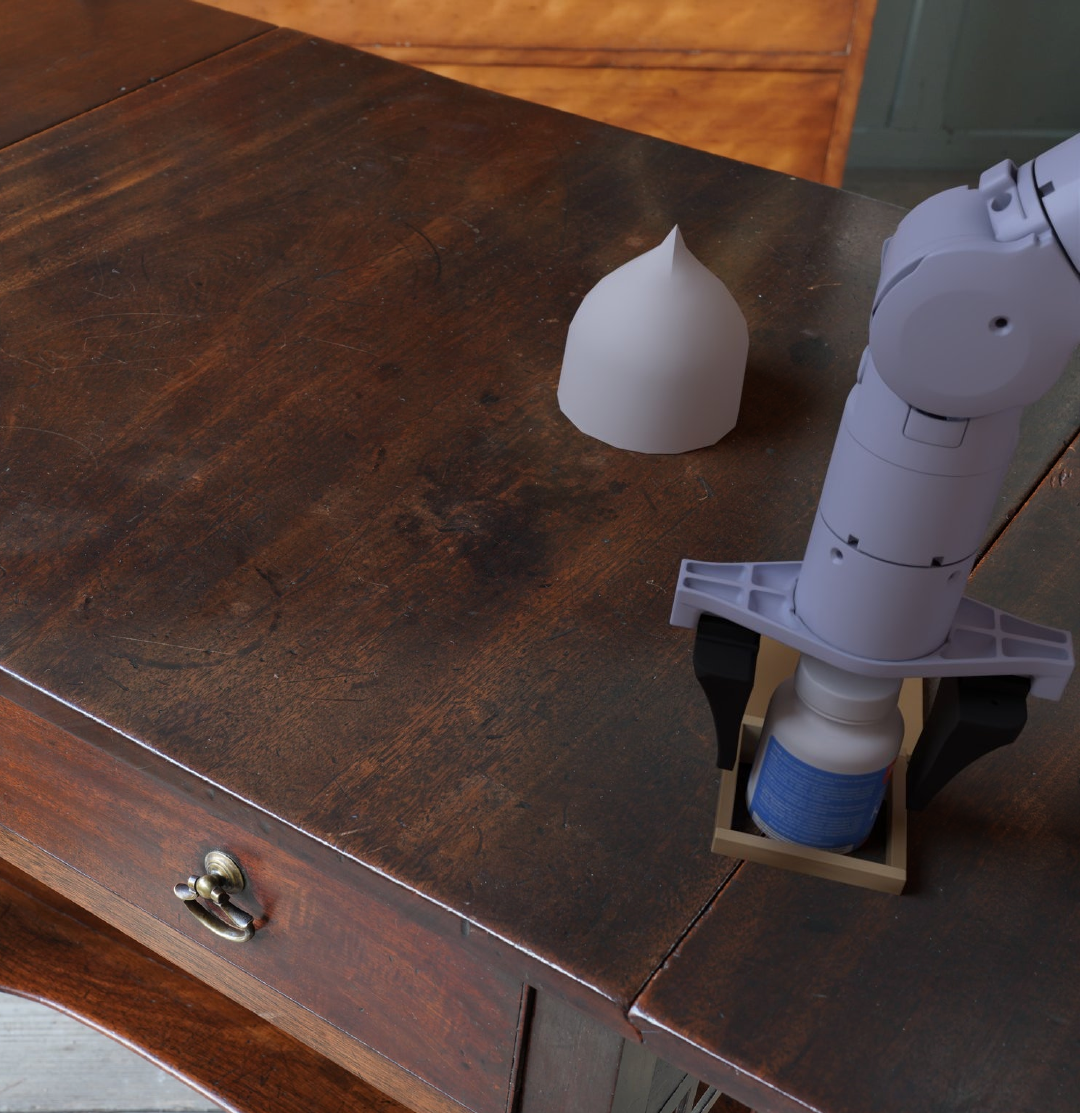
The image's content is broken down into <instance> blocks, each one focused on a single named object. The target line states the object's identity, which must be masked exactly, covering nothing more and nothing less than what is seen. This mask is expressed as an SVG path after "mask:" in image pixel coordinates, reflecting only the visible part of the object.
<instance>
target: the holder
mask: <svg viewBox="0 0 1080 1113" xmlns="http://www.w3.org/2000/svg"><path fill="white" fill-rule="evenodd" d="M763 723H764V718H759V717H754V716H750V715H745V714H744V716H743V720H742V723H741V728H740V735H739V742H738V750H737V758H736V762H735V765H734V769H733V771H729V770H724V769H721V774H720V781H719V789H718V796H717V803H716V810H715V819H714V825H713V833H712V842H711V849H710V852H711V853H713V854H717V855H722V856H725V857H729V858H734V859H739V860H744V861H748V862H752V863H756V864H761V865H764V866H770V867H773V868H777V869H782V870H787V871H790V872H794V873H795V872H796V873H799V874H803V875H809V876H813V877H818V878H821V879H826V880H831V881H833V882H838V883H843V884H848V885H852V886H856V887H860V888H864V889H868V890H873V891H876V892H881V893H886V894H890V895H895V896H901V894H902V892H903V890H904V887H905V885H906V883H907V862H908V861H907V858H908V856H907V851H908V850H907V841H908V840H907V838H908V836H907V831H908V829H907V825H908V820H907V817H908V816H907V813H908V812H907V811H908V810H907V809H906V771H907V768H908V762H907V749H906V748H903V747H901V749H900V752H899V755H898V758H897V761H896V763H895V766H894V769H893V772H892V774H891V777H890V780H889V783H888V786H887V789H886V791H885V795H884V798H883V800H882V801H886V824H885V826H886V828H885V829H886V830H885V832H886V833H885V864H884V863H878V862H874V861H870V860H865V859H862V858H856V857H852V856H847V855H845V854H842V855H839V854H835V853H830V852H826V851H822V850H817V849H813V848H808V847H804V846H799V845H795V844H791V843H786V842H782V841H777V840H773V839H771V838H769V837H763V836H759V835H755V834H751V833H746V832H741V831H737V830H733V829H732V822H733V815H734V808H735V807H734V806H735V799H736V790H737V782H738V775H739V767H740V766H739V765H740V763H743V764H748V765H751V766H752V765H753V762H754V758H755V754H756V750H757V746H758V742H759V739H760V735H761V731H762V727H763Z"/></svg>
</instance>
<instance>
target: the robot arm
mask: <svg viewBox="0 0 1080 1113" xmlns="http://www.w3.org/2000/svg"><path fill="white" fill-rule="evenodd" d="M880 257H881V258H880V260H881V261H880V275H879V280H878V283H877V288H876V292H875V296H874V300H873V304H872V307H871V308H872V309H871V312H870V313H871V314H870V317H869V325H868V328H869V329H868V330H869V332H868V334H869V335H868V336H869V338H868V339H869V340H868V341H869V343H868V344H867V345H866V347H865V348H864V350H863V352H862V355H861V358H860V361H859V365H858V370H857V373H856V378H857V381H856V382H855V384H854V386H853V387H852V388H851V391H850V392H849V394H848V395H847V398H846V401H845V405H844V409H843V412H842V415H841V420H840V425H839V427H838V431H837V435H836V437H835V442H834V446H833V450H832V453H831V457H830V460H829V464H828V467H827V473H826V475H825V479H824V482H823V485H822V490H821V494H820V498H819V502H818V505H817V509H816V513H815V517H814V521H813V523H812V527H811V532H810V535H809V539H808V543H807V546H806V549H805V552H804V556H803V560H789V561H787V560H786V561H785V560H784V561H756V562H755V561H754V562H752V561H751V562H712V561H702V560H695V559H688V558H682V559H681V564H680V568H679V572H678V579H677V584H676V588H675V592H674V599H673V603H672V608H671V614H670V619H669V624H670V625H671V626H675V627H681V628H686V629H696V634H695V639H694V646H693V651H692V665H693V670H694V676H695V678H696V680H697V681H698V683H699V685H700V686H701V689H702V691H703V693H704V695H705V697H706V700H707V702H708V705H709V708H710V711H711V714H712V719H713V722H714V728H715V734H716V742H717V743H716V744H717V755H716V756H717V757H716V763H715V766H716V768H717V769H718V770H719V769H720V770H722V769H724V770H729V771H733V769H734V765H735V762H736V758H737V750H738V742H739V735H740V728H741V723H742V720H743V716H744V713H745V710H746V707H747V704H748V701H749V698H750V695H751V692H752V689H753V687H754V681H755V672H756V664H757V656H758V652H759V649H760V639H761V634H762V635H764V636H767V637H769V638H771V639H773V640H776V641H778V642H780V643H782V644H785V645H787V646H789V647H791V648H794V649H796V650H798V651H801V652H803V653H805V654H807V655H810V656H812V657H814V658H816V659H819V660H821V661H823V662H826V663H828V664H830V665H832V666H835V667H837V668H840V669H842V670H845V671H847V672H851V673H854V674H858V675H862V676H867V677H873V678H885V679H898V678H924V679H925V678H926V679H927V678H940V679H939V682H938V686H937V690H936V693H935V697H934V700H933V703H932V706H931V709H930V712H929V714H928V716H927V718H926V721H925V723H924V724H923V730H922V732H921V734H920V736H919V738H918V741H917V743H916V745H915V747H914V750H913V752H912V754H911V758H910V761H909V762H908V763H907V771H906V809H907V811H913V812H917V813H922V812H924V811H925V809H926V808H927V807H928V806H929V804H930V803H931V802H932V800H934V798H935V797H936V796H937V795H938V794H939V793H940V791H942V790H943V789H944V788H945V786H946V785H947V784H949V782H950V781H951V780H953V779H954V778H955V777H956V776H957V775H959V773H961V772H962V771H963V770H964V769H966V768H967V767H968V766H970V765H972V763H974V762H976V761H978V760H979V759H980V758H982V757H983V756H986V755H987V754H989V753H991V752H993V751H995V750H997V749H1001V748H1002V747H1005V746H1008V745H1010V744H1014V743H1015V741H1016V740H1017V739H1018V738H1019V736H1020V735H1021V733H1022V732H1023V730H1024V728H1025V726H1026V723H1027V721H1028V716H1029V714H1028V704H1027V697H1028V695H1029V694H1030V695H1031V696H1032V697H1034V698H1037V699H1041V700H1042V699H1043V700H1048V701H1052V702H1060V700H1061V698H1062V697H1063V694H1064V691H1065V690H1066V688H1067V686H1068V683H1069V681H1070V678H1071V676H1072V674H1073V672H1074V670H1075V667H1076V660H1075V651H1074V643H1073V635H1072V632H1071V631H1070V630H1065V629H1060V628H1056V627H1052V626H1047V625H1044V624H1041V623H1037V622H1034V621H1031V620H1029V619H1025V618H1023V617H1020V616H1017V615H1015V614H1012V613H1010V612H1007V611H1004V610H1002V609H1000V608H997V607H994V606H992V605H989V604H987V603H984V602H982V601H980V600H977V599H974V598H972V597H969V596H968V595H964V592H965V588H966V586H967V583H968V580H969V578H970V575H971V572H972V570H973V567H974V563H975V561H976V559H977V556H978V553H979V550H980V547H981V545H982V542H983V539H984V536H985V534H986V531H987V528H988V526H989V523H990V520H991V517H992V515H993V512H994V510H995V506H996V504H997V501H998V499H999V496H1000V493H1001V491H1002V489H1003V488H1002V487H1003V485H1004V483H1005V480H1006V477H1007V474H1008V472H1009V469H1010V466H1011V463H1012V461H1013V458H1014V455H1015V452H1016V449H1017V447H1018V444H1019V442H1020V435H1021V425H1020V422H1021V418H1022V415H1023V412H1024V410H1025V407H1026V406H1030V405H1032V404H1035V403H1037V401H1039V400H1040V399H1041V398H1043V397H1044V396H1045V395H1046V394H1047V393H1048V392H1049V391H1050V390H1051V389H1052V388H1053V387H1054V386H1055V385H1056V384H1057V383H1058V381H1059V380H1060V378H1061V377H1062V376H1063V374H1064V373H1065V371H1066V368H1067V367H1068V364H1069V363H1070V359H1071V357H1072V355H1073V353H1074V352H1075V350H1076V349H1077V348H1078V347H1079V346H1080V132H1079V133H1076V134H1075V135H1073V136H1071V137H1069V138H1067V139H1066V140H1064V141H1062V142H1061V143H1059V144H1057V145H1055V146H1053V147H1052V148H1050V149H1048V150H1047V151H1045V152H1043V153H1041V154H1040V155H1038V156H1037V157H1034V158H1032V159H1031V160H1029V161H1027V162H1026V163H1024V164H1022V165H1020V167H1017V166H1016V164H1015V163H1014V161H1013V160H1012V159H1010V158H1006V159H1004V160H1002V161H1001V162H999V163H997V164H995V165H993V166H991V167H990V168H988V169H987V170H985V171H983V172H982V173H981V174H980V177H979V183H978V188H972V189H970V188H969V184H964V185H960V186H959V185H958V186H956V187H953V188H949V189H945V190H942V191H941V192H939V193H936V194H934V195H932V196H930V197H928V198H927V199H925V200H924V201H922V202H920V203H919V204H917V205H916V206H915V207H914V208H912V210H910V212H908V213H907V214H906V215H905V216H904V218H903V219H902V220H901V221H900V222H899V224H898V225H897V228H896V231H895V233H894V234H892V235H891V236H890V237H888V238H886V239H885V240H884V242H883V244H882V250H881V256H880Z"/></svg>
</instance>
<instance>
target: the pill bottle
mask: <svg viewBox="0 0 1080 1113" xmlns="http://www.w3.org/2000/svg"><path fill="white" fill-rule="evenodd" d="M903 681H904V678H898V679H885V678H873V677H867V676H862V675H858V674H854V673H851V672H847V671H845V670H842V669H840V668H837V667H835V666H832V665H830V664H828V663H826V662H823V661H821V660H819V659H816V658H814V657H812V656H810V655H807V654H805V653H803V652H801V654H800V657H799V660H798V664H797V667H796V669H795V674H793V675H791V676H789V677H787V678H786V679H785V680H783V681H782V682H781V683H780V684H779V685H778V686H777V688H776V689H775V691H774V692H773V694H772V696H771V698H770V701H769V704H768V708H767V712H766V715H765V719H764V723H763V727H762V731H761V735H760V739H759V742H758V746H757V750H756V754H755V758H754V762H753V765H752V764H751V769H750V773H749V776H748V781H747V784H746V788H745V794H744V797H745V805H746V809H747V811H748V813H749V816H750V818H751V819H752V821H753V823H754V824H755V825H756V826H757V827H758V829H760V831H761V832H762V833H764V834H765V835H766V836H767V838H769V839H773V840H777V841H782V842H786V843H791V844H795V845H799V846H804V847H808V848H813V849H817V850H822V851H826V852H830V853H835V854H839V855H845V854H848V853H851V852H853V851H855V850H857V849H858V848H860V847H861V846H863V845H864V844H865V843H866V841H867V840H869V838H870V836H871V834H872V832H873V829H874V826H875V822H876V819H877V817H878V814H879V812H880V809H881V806H882V803H883V801H884V800H883V798H884V795H885V791H886V789H887V786H888V783H889V780H890V777H891V774H892V772H893V769H894V766H895V763H896V761H897V758H898V755H899V752H900V749H901V746H902V743H903V739H904V733H905V725H904V719H903V716H902V713H901V711H900V709H899V707H898V705H897V704H898V701H899V695H900V692H901V688H902V685H903Z"/></svg>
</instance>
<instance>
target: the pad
mask: <svg viewBox="0 0 1080 1113" xmlns="http://www.w3.org/2000/svg"><path fill="white" fill-rule="evenodd" d="M800 654H801V651H798V650H796V649H794V648H791V647H789V646H787V645H785V644H782V643H780V642H778V641H776V640H773V639H771V638H769V637H767V636H764V635H762V634H761V639H760V649H759V652H758V656H757V664H756V672H755V681H754V687H753V689H752V692H751V695H750V698H749V701H748V704H747V707H746V710H745V713H744V714H745V715H750V716H754V717H759V718H764V719H765V715H766V712H767V708H768V704H769V701H770V698H771V696H772V694H773V692H774V691H775V689H776V688H777V686H778V685H779V684H780V683H781V682H782V681H783V680H785V679H786V678H787V677H789V676H791V675H793V674H795V669H796V667H797V664H798V660H799V657H800ZM923 682H924V680H923V678H904V681H903V685H902V688H901V692H900V695H899V701H898V704H897V705H898V707H899V709H900V711H901V713H902V716H903V719H904V725H905V733H904V739H903V743H902V746H901V747H903V748H906V749H907V763H909V761H910V758H911V754H912V752H913V750H914V747H915V745H916V743H917V741H918V738H919V736H920V734H921V732H922V730H923V727H924V690H923V688H924V686H923V685H924V684H923Z"/></svg>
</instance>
